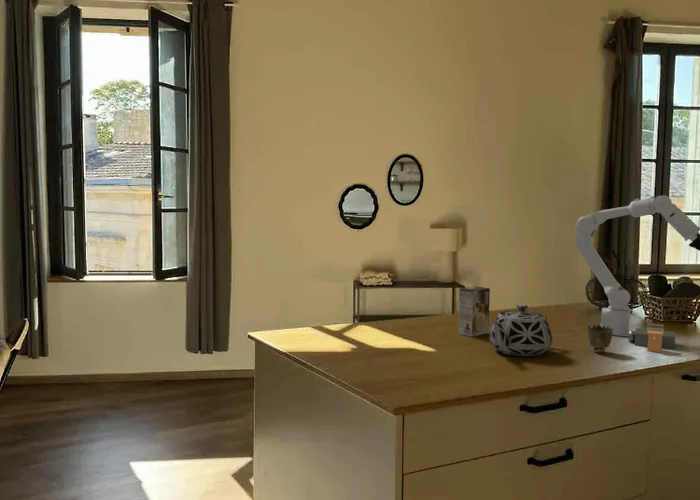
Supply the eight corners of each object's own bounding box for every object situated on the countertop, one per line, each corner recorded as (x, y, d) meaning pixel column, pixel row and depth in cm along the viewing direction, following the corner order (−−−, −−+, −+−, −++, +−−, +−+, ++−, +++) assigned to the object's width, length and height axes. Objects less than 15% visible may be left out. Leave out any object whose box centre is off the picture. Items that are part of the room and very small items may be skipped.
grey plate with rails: (628, 344, 234) (629, 326, 234) (628, 339, 242) (629, 321, 242) (674, 349, 229) (675, 330, 228) (673, 343, 237) (674, 325, 236)
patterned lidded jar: (464, 354, 217) (465, 306, 215) (518, 340, 238) (520, 296, 237) (518, 367, 203) (520, 316, 202) (570, 350, 225) (572, 303, 223)
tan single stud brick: (647, 352, 224) (648, 333, 223) (647, 348, 229) (648, 330, 228) (661, 353, 222) (662, 335, 222) (661, 350, 228) (662, 331, 227)
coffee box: (474, 330, 252) (476, 285, 250) (488, 333, 247) (490, 288, 245) (457, 333, 246) (459, 288, 244) (472, 337, 241) (473, 290, 239)
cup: (599, 356, 218) (600, 330, 217) (581, 350, 224) (582, 326, 223) (616, 353, 221) (618, 328, 220) (598, 348, 228) (599, 324, 227)
